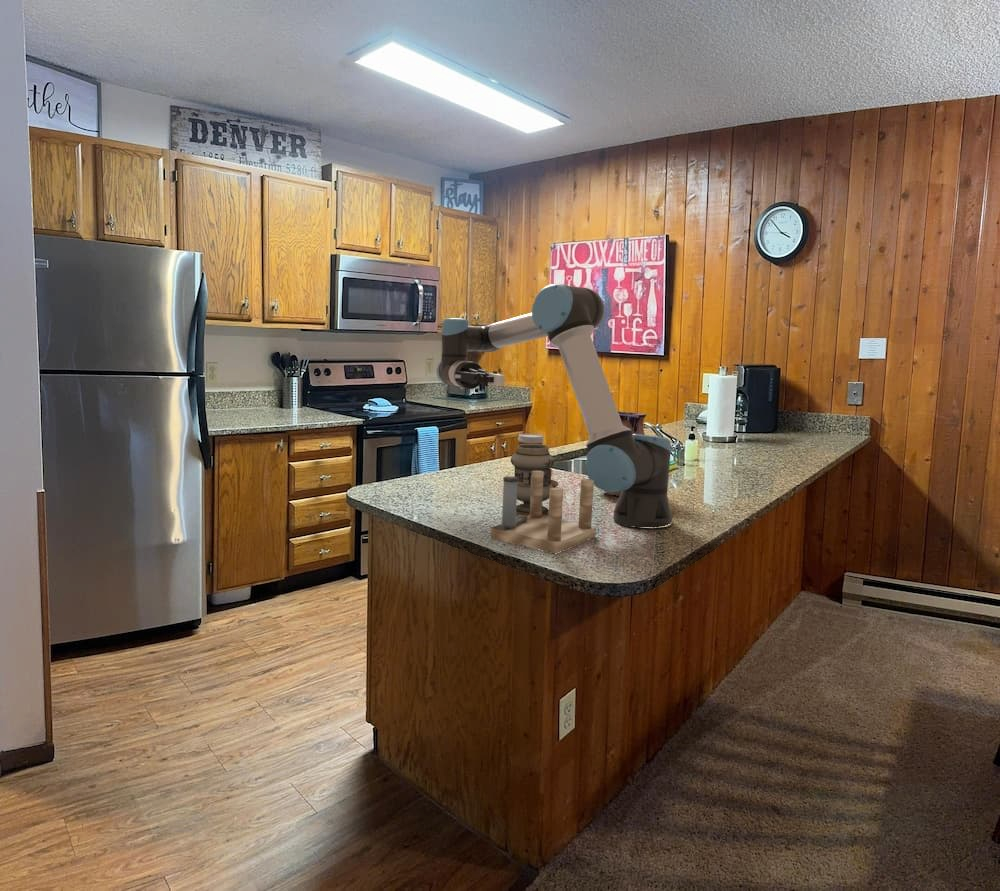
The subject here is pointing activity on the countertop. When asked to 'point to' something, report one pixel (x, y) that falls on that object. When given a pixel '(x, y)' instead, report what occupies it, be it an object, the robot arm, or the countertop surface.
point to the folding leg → (510, 503)
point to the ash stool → (550, 520)
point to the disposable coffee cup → (530, 439)
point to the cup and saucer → (552, 482)
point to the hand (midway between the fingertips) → (502, 380)
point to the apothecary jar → (525, 463)
